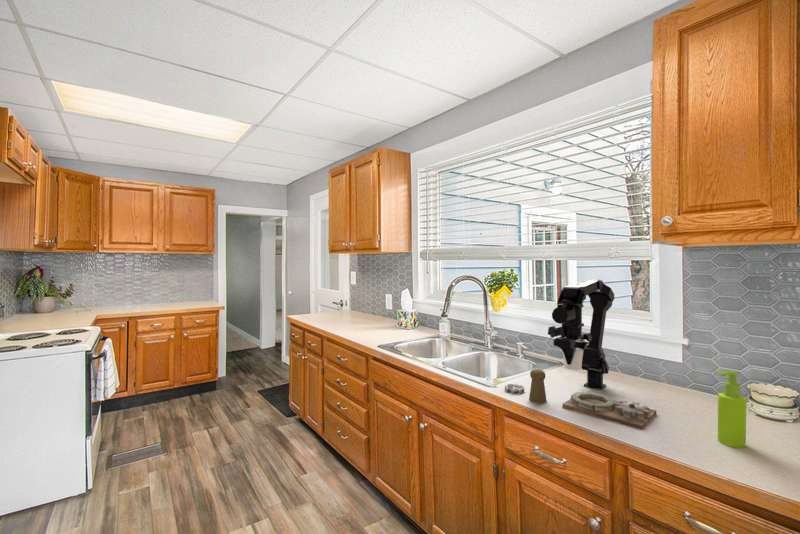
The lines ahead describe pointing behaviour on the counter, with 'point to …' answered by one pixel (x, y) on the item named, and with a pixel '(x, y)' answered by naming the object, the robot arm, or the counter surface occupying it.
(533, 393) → the brown pepper mill
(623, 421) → the gear board
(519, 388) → the gear
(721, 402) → the soap dispenser
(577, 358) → the white cylinder
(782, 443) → the counter surface
